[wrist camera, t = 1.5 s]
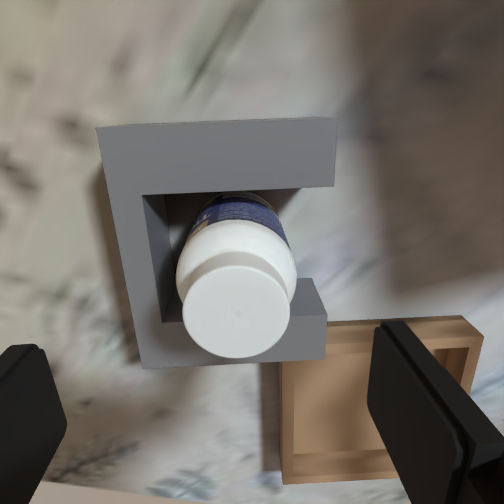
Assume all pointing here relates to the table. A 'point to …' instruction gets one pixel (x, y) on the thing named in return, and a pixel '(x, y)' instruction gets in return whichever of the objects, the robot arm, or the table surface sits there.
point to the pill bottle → (236, 276)
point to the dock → (207, 180)
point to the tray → (354, 399)
